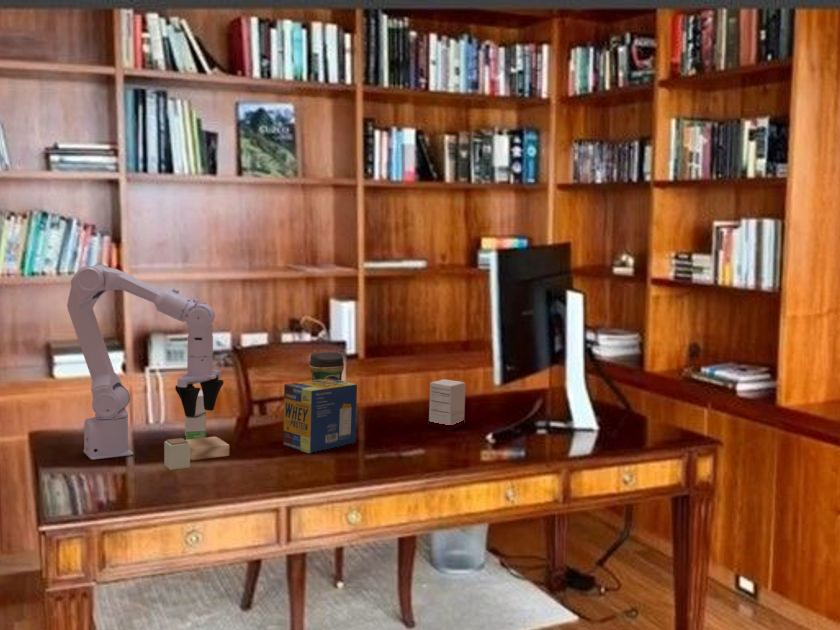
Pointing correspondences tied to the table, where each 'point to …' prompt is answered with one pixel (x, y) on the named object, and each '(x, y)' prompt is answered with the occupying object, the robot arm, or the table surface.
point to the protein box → (319, 414)
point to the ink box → (196, 421)
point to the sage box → (176, 454)
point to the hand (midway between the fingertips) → (199, 413)
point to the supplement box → (447, 402)
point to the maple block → (207, 448)
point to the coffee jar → (326, 365)
